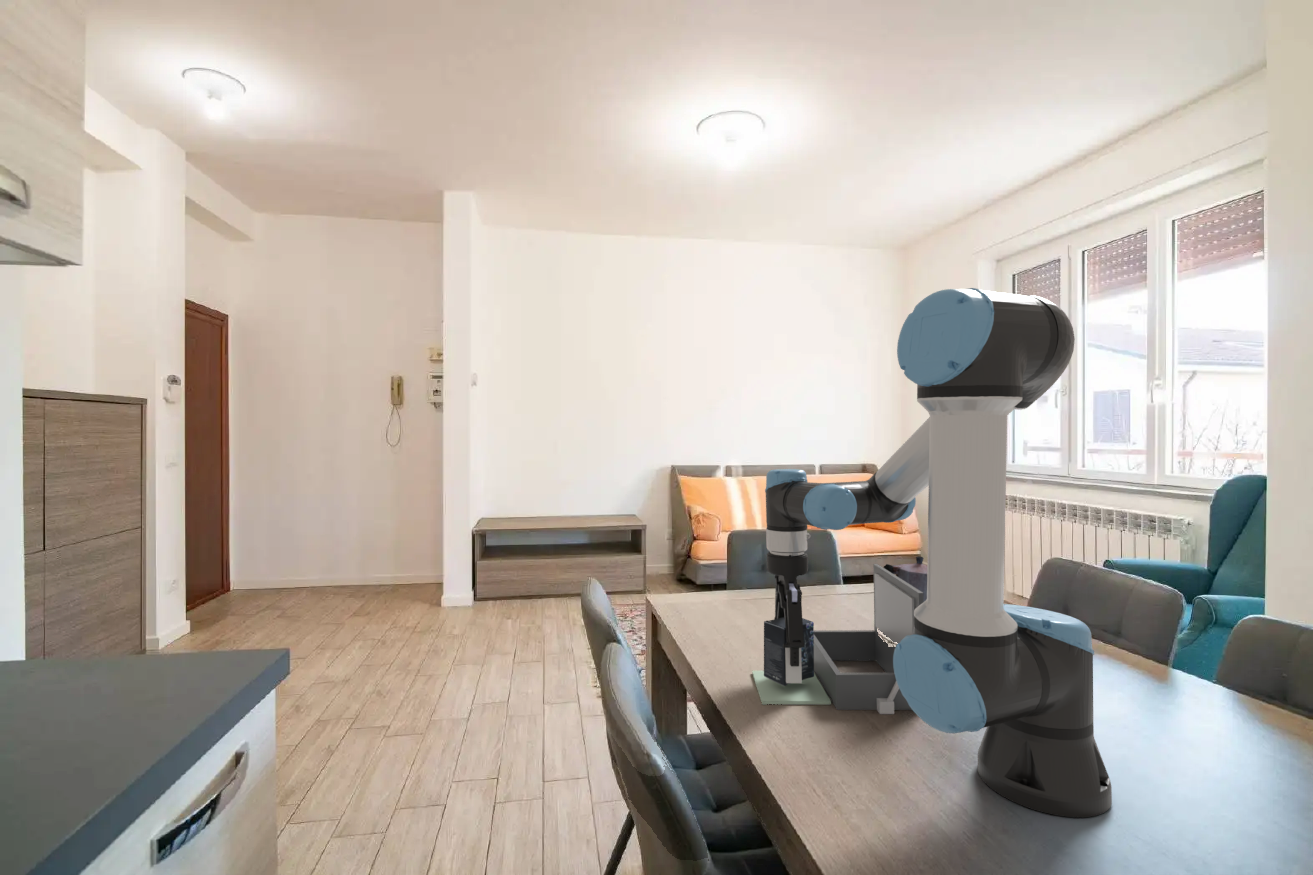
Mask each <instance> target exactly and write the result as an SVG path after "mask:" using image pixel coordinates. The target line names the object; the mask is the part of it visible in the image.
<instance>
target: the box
mask: <svg viewBox="0 0 1313 875" xmlns="http://www.w3.org/2000/svg"><path fill="white" fill-rule="evenodd" d="M802 621H803V639H804V647H803V648H801V664H802V680H804V679H807V678H812V677H814V673H815V672H814V631H815V629H814V628H815V627H814V626H815V625H814V621H811V620H809V619H806V618H804V617H802ZM786 643H787V640H786V628H785V617H782V618H778V619H774V618H773V619H771V620H770V619H769V620H764V621H763V671H764V677H766V678H768V679H770V680H772V681H774V682H776V683H778V684H780V685H783V686H786V685H788V684H791V683H786V659H785V648H783V644H786Z"/></svg>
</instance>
